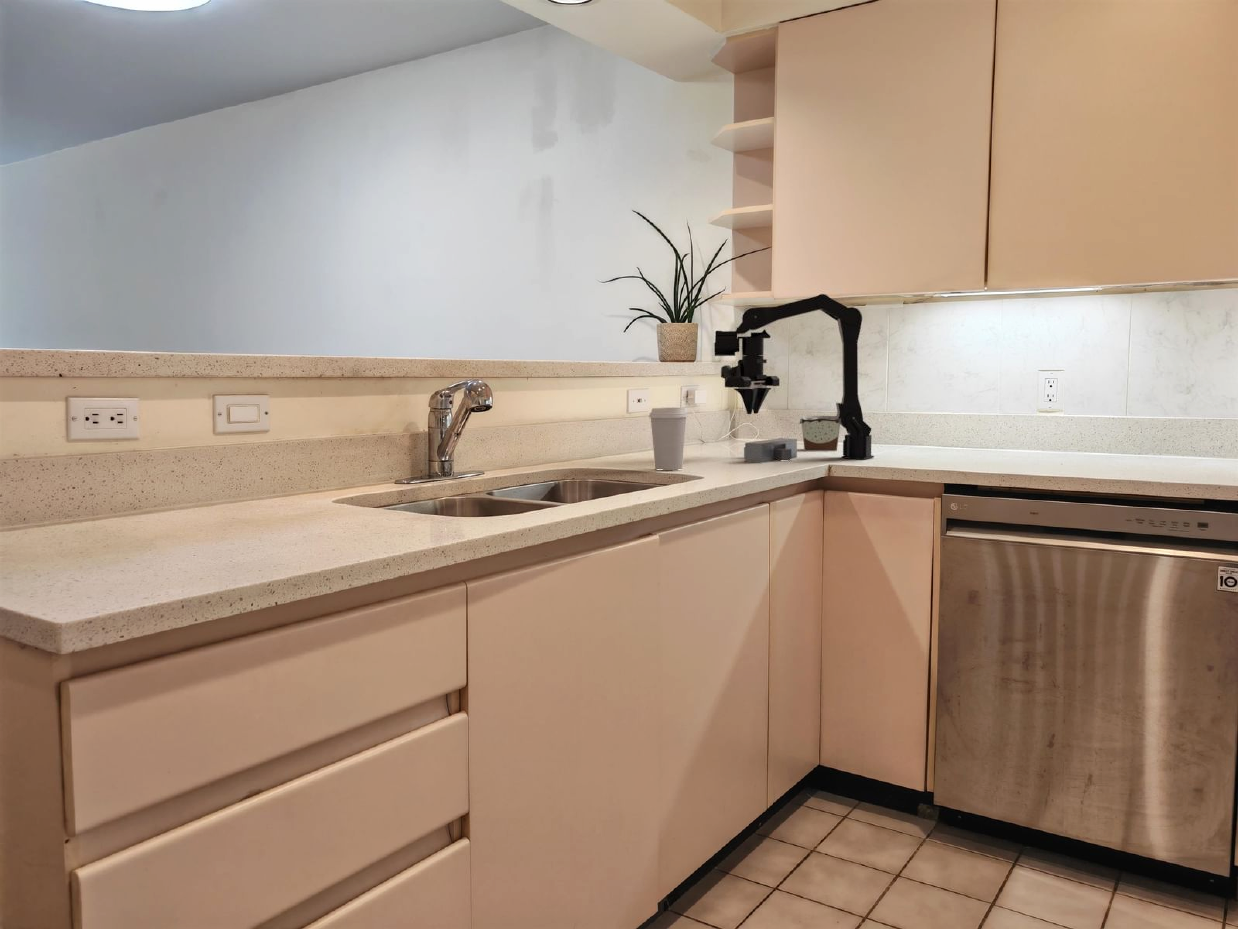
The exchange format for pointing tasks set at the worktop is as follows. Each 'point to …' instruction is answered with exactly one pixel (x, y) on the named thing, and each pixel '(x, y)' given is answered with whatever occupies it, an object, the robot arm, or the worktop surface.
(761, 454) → the long gray rectangular block
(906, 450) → the worktop surface
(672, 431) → the coffee cup
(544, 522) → the worktop surface
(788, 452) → the bar
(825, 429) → the food container
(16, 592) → the worktop surface
